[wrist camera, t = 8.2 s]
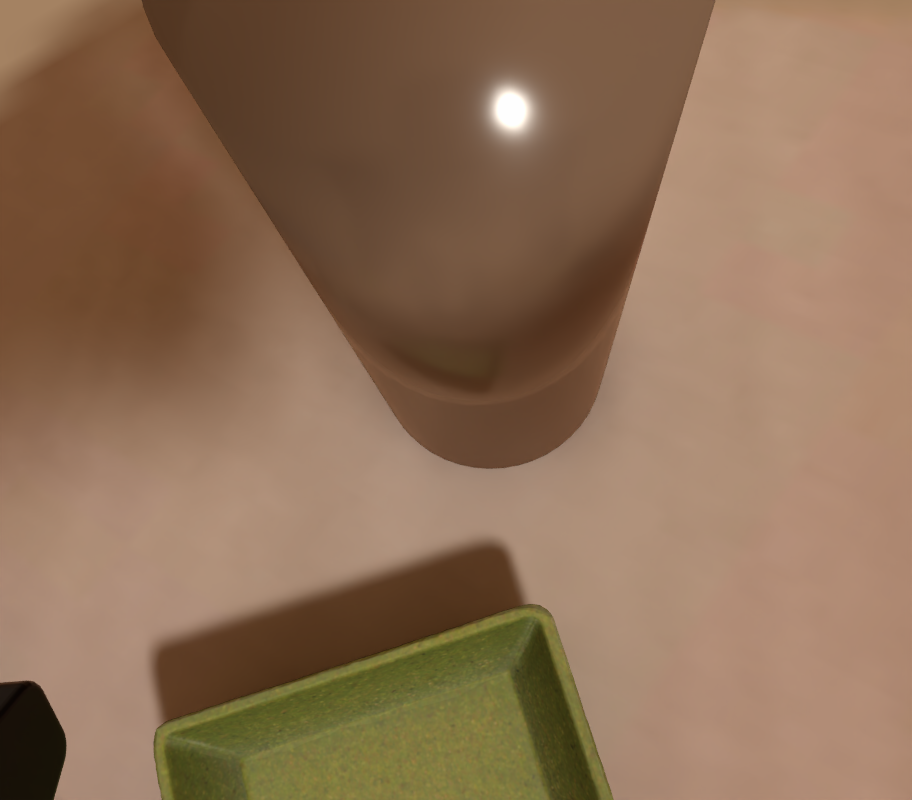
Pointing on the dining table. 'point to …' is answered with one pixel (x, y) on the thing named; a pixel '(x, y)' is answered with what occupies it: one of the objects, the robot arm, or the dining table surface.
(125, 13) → the dining table surface
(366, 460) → the dining table surface
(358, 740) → the green square dish
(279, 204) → the brown cylinder
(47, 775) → the robot arm
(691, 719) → the dining table surface
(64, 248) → the dining table surface
